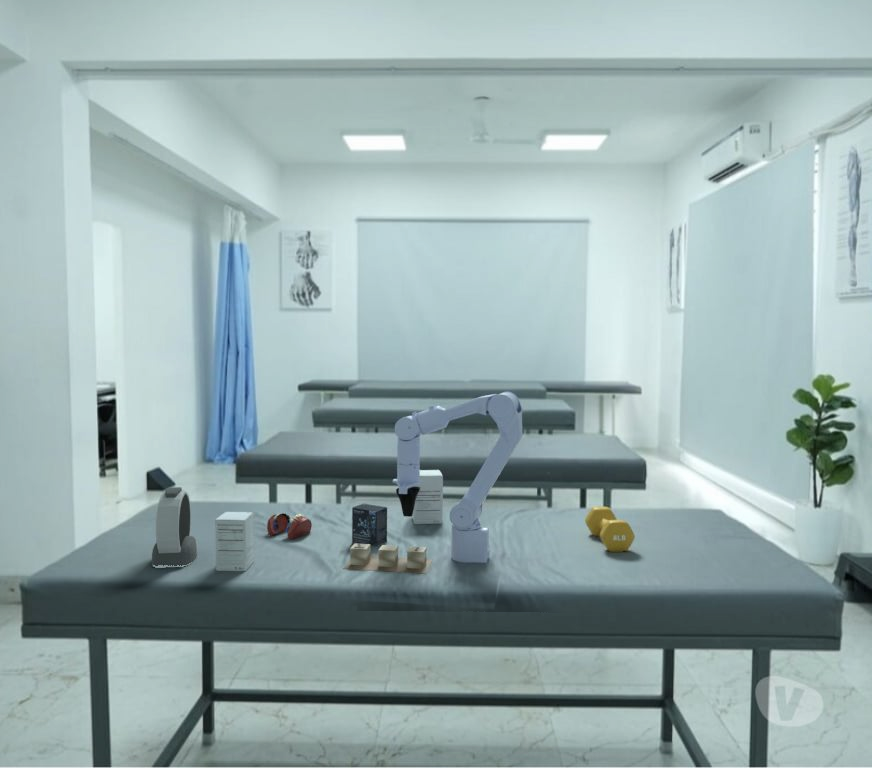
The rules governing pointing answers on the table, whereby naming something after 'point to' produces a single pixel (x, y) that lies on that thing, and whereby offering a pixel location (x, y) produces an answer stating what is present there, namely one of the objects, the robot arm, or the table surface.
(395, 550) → the plain block
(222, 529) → the supplement box
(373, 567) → the walnut board
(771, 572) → the table surface
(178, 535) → the alarm clock
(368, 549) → the letter t cube
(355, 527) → the box
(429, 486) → the supplement box
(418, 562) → the block one
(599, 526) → the dumbbell
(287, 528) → the teeth model
